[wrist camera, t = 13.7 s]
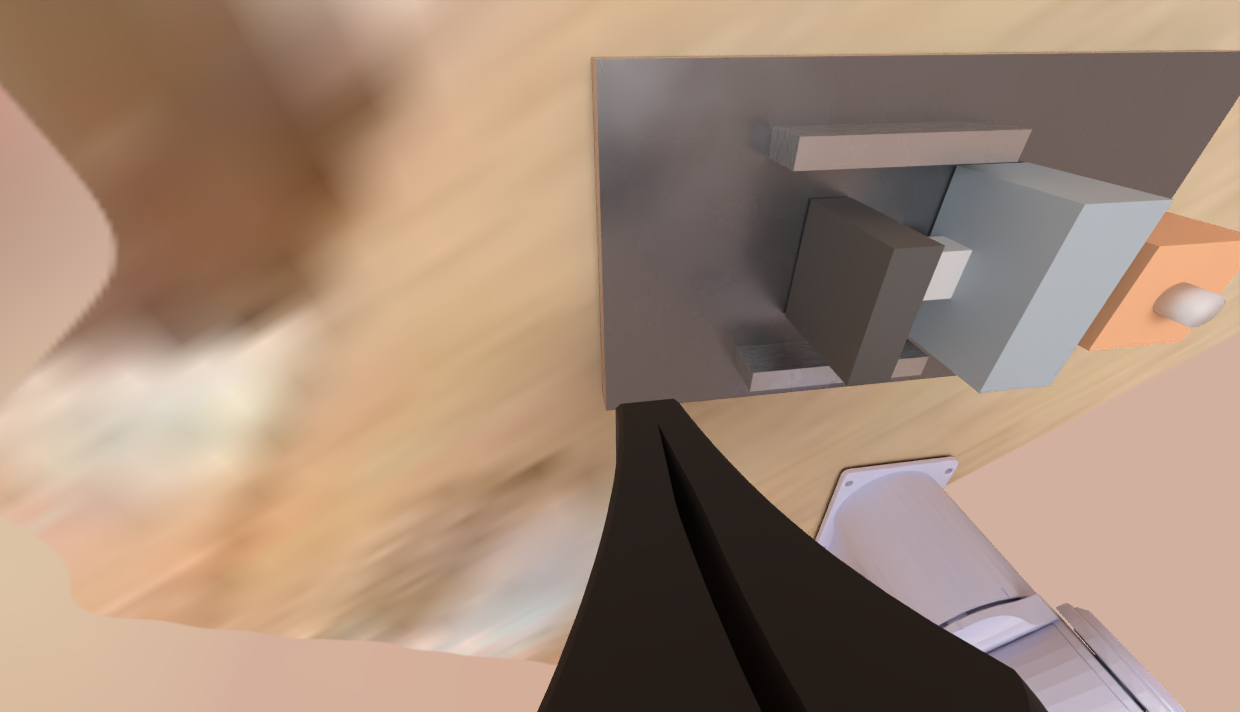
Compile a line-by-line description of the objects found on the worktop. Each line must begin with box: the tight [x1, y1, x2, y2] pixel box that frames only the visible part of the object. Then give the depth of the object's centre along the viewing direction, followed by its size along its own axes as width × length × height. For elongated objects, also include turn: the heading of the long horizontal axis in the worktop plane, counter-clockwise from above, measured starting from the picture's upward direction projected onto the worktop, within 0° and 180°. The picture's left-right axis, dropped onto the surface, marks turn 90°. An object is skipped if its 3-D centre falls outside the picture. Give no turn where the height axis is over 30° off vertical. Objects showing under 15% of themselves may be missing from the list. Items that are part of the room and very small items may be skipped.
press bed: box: [591, 50, 1240, 410], centre depth 19 cm, size 14×24×4 cm, turn 90°
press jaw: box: [785, 162, 1174, 393], centre depth 17 cm, size 7×9×5 cm
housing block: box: [1078, 212, 1240, 351], centre depth 18 cm, size 4×4×6 cm
